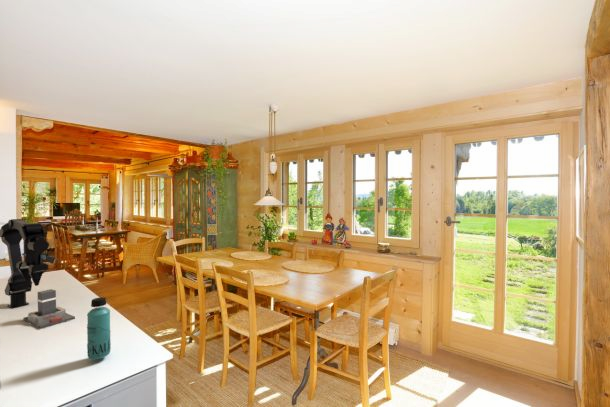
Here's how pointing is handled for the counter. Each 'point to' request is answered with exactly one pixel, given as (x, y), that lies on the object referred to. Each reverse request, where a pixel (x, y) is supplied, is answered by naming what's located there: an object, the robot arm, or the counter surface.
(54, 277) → the counter surface
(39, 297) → the plug block
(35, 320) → the grey socket base
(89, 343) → the beverage bottle
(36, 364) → the counter surface
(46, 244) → the robot arm
